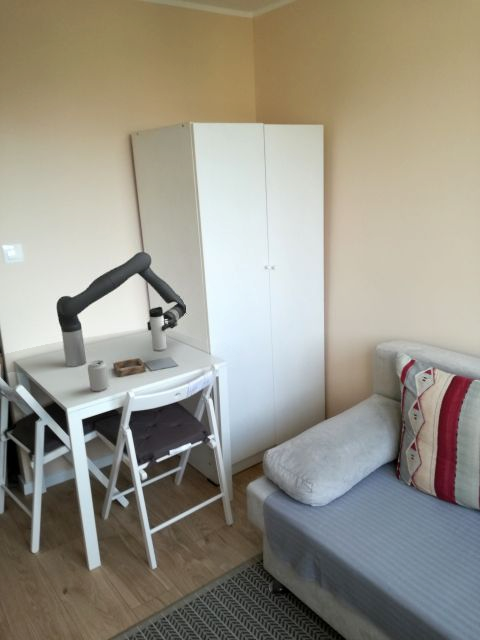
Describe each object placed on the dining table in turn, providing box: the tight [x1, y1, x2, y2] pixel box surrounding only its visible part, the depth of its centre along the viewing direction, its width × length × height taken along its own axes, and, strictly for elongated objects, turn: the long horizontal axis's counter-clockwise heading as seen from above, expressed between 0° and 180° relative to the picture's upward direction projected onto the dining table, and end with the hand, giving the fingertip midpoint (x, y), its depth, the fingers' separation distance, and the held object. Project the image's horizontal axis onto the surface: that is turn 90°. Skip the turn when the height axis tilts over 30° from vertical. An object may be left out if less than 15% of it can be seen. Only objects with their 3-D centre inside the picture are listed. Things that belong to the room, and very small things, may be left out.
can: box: [87, 359, 110, 392], centre depth 215 cm, size 8×8×12 cm
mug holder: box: [112, 357, 147, 378], centre depth 235 cm, size 12×12×3 cm
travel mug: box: [148, 306, 168, 353], centre depth 237 cm, size 6×7×20 cm
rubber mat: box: [143, 356, 179, 372], centre depth 242 cm, size 13×13×1 cm
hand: (155, 328), depth 235 cm, fingers closed on travel mug, 6 cm apart
